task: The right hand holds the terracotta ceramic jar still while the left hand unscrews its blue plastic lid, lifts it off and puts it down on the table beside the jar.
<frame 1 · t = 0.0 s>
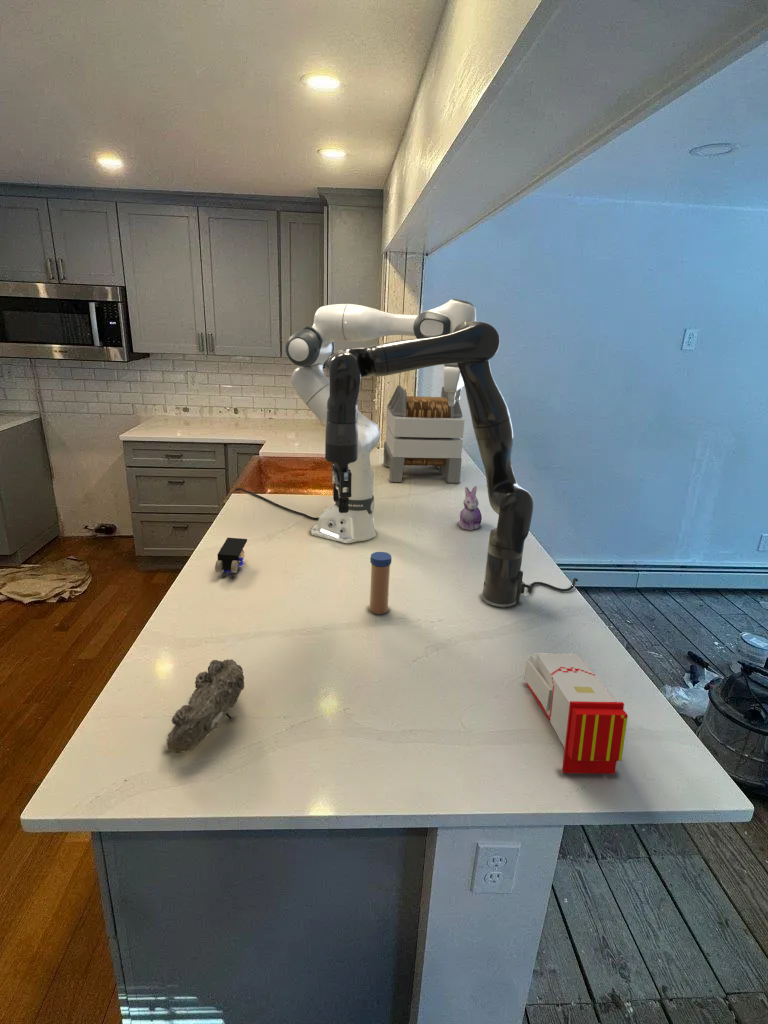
left hand: (454, 403, 174), 48 cm above the counter, tool pointing down, fingers open, 8 cm apart
right hand: (340, 506, 137), 29 cm above the counter, tool pointing down, fingers open, 8 cm apart
black wheeled block: (232, 569, 168), on the counter
toy: (562, 720, 111), on the counter
jar: (378, 609, 149), on the counter
lid: (381, 557, 144), point 15 cm above the counter, screwed on, not yet turned
transformer: (419, 473, 275), on the counter
fossil: (212, 717, 108), on the counter
figurine: (470, 526, 210), on the counter
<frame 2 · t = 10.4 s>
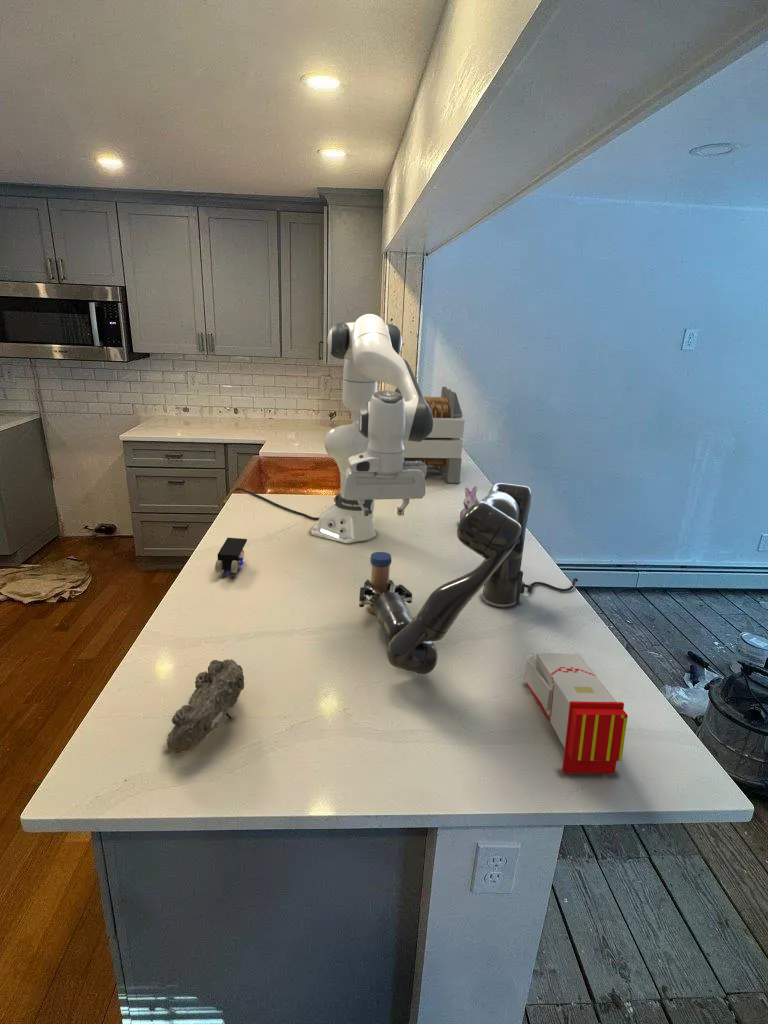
left hand: (382, 515, 140), 26 cm above the counter, tool pointing down, fingers open, 7 cm apart
right hand: (377, 582, 149), 7 cm above the counter, tool horizontal, fingers closed on jar, 5 cm apart
jar: (378, 609, 149), on the counter, touching right hand
everything else where it was.
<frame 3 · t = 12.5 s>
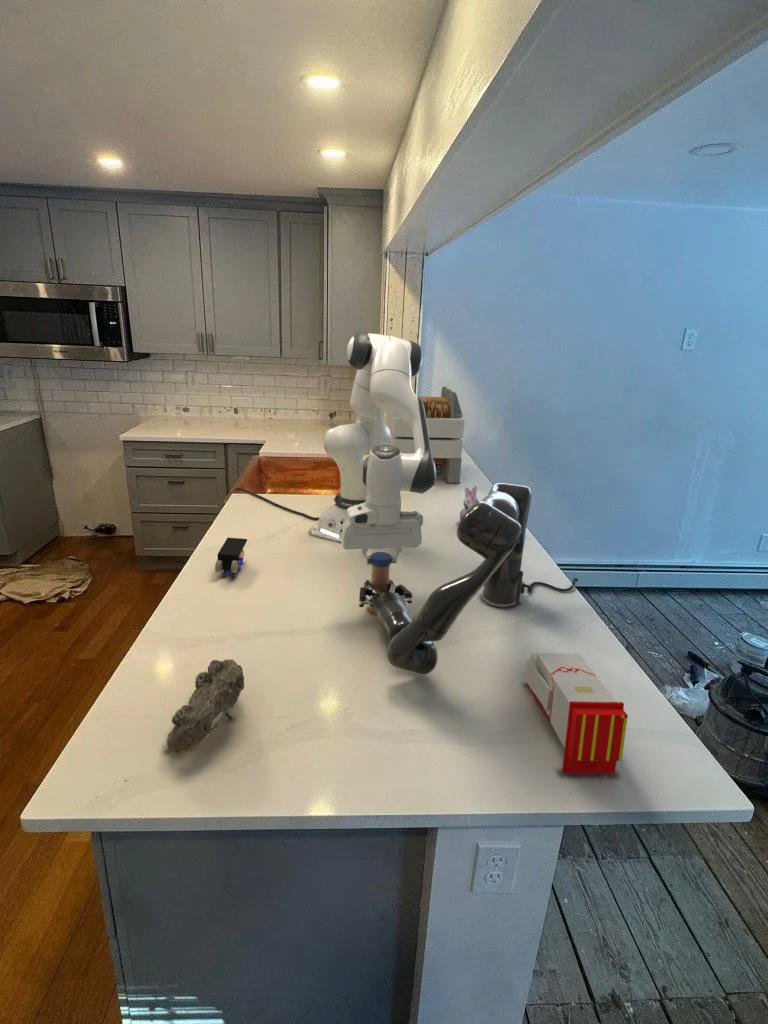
left hand: (380, 563, 145), 14 cm above the counter, tool pointing down, fingers closed on lid, 5 cm apart
right hand: (377, 582, 149), 7 cm above the counter, tool horizontal, fingers closed on jar, 5 cm apart
jar: (378, 609, 149), on the counter, touching right hand
lid: (381, 557, 144), point 15 cm above the counter, screwed on, not yet turned, touching left hand
everything else where it was.
when the left hand's fingers open (14 cm above the counter, at t = 13.9 s): lid stays where it is, point 15 cm above the counter.
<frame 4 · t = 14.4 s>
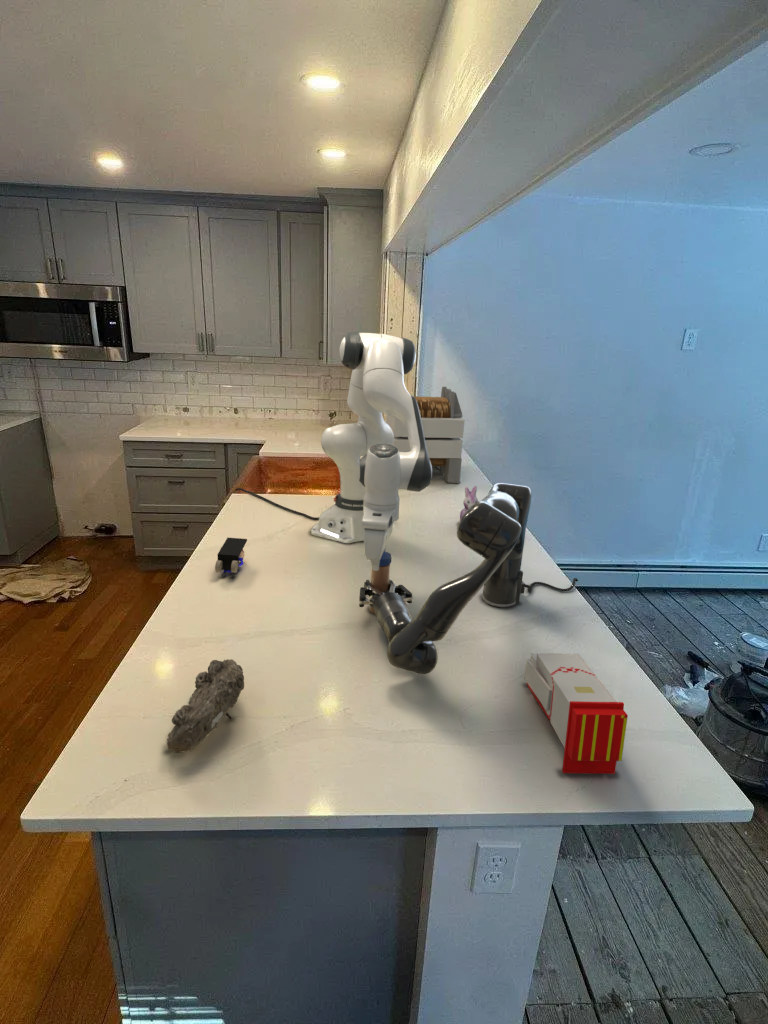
left hand: (378, 562, 144), 14 cm above the counter, tool pointing down, fingers open, 7 cm apart
right hand: (377, 582, 149), 7 cm above the counter, tool horizontal, fingers closed on jar, 5 cm apart
jar: (378, 609, 149), on the counter, touching right hand
lid: (381, 556, 144), point 15 cm above the counter, turned 95° so far, risen 0.2 cm, still on its thread
everything else where it was.
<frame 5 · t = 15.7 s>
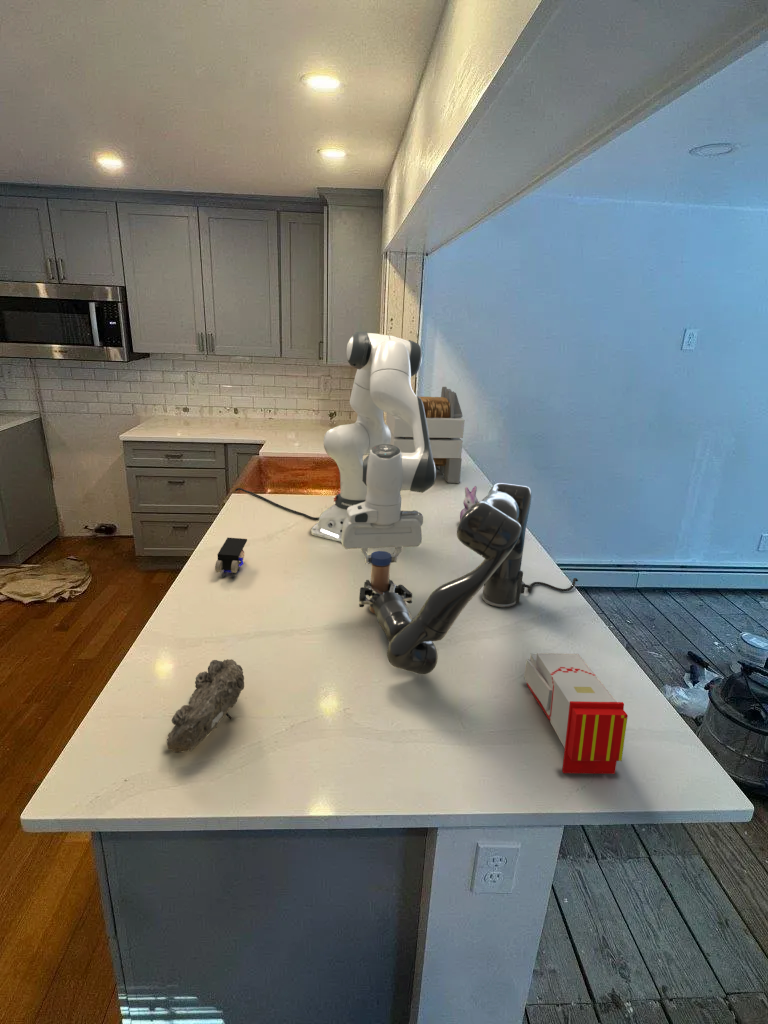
left hand: (380, 562, 145), 14 cm above the counter, tool pointing down, fingers closed on lid, 5 cm apart
right hand: (377, 582, 149), 7 cm above the counter, tool horizontal, fingers closed on jar, 5 cm apart
jar: (378, 609, 149), on the counter, touching right hand
lid: (381, 556, 144), point 15 cm above the counter, turned 95° so far, risen 0.2 cm, still on its thread, touching left hand
everything else where it was.
when the left hand's fingers open (2 cm above the counter, at t = 21.9 s): lid drops 2 cm, point 1 cm above the counter.
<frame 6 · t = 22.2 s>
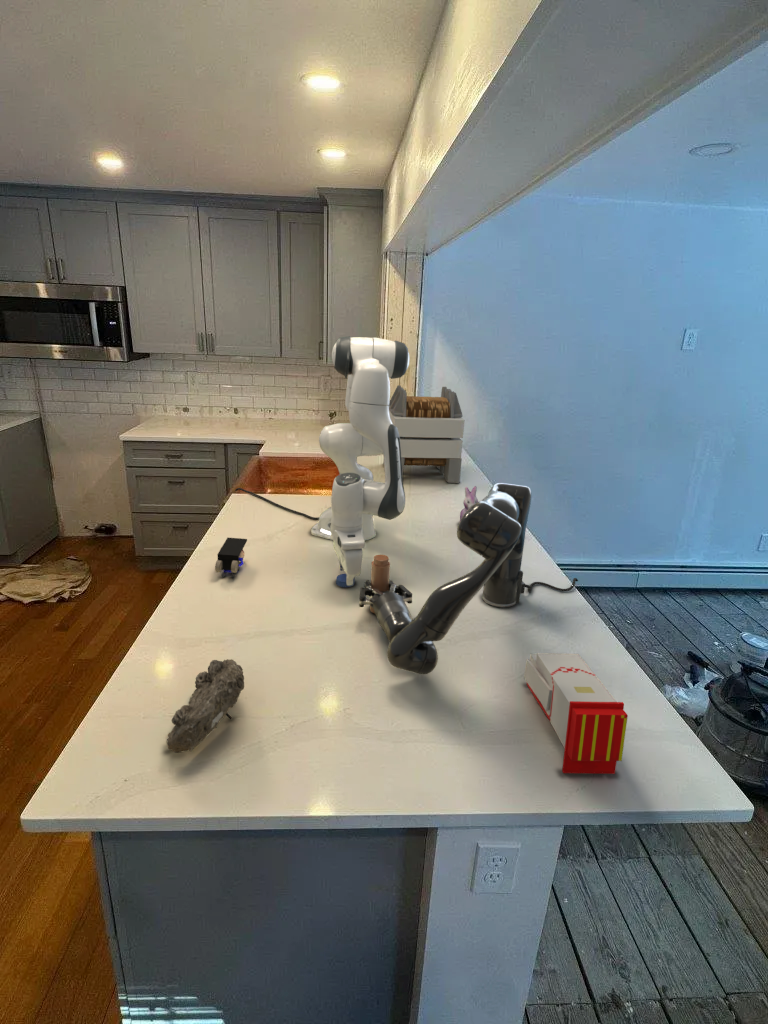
left hand: (345, 576, 162), 2 cm above the counter, tool pointing down, fingers open, 8 cm apart
right hand: (377, 582, 149), 7 cm above the counter, tool horizontal, fingers closed on jar, 5 cm apart
jar: (378, 609, 149), on the counter, touching right hand
lid: (345, 578, 162), point 1 cm above the counter, off its thread
everything else where it was.
when the right hand's fingers open (7 cm above the counter, at t = 22.9 s): jar stays where it is, on the counter.
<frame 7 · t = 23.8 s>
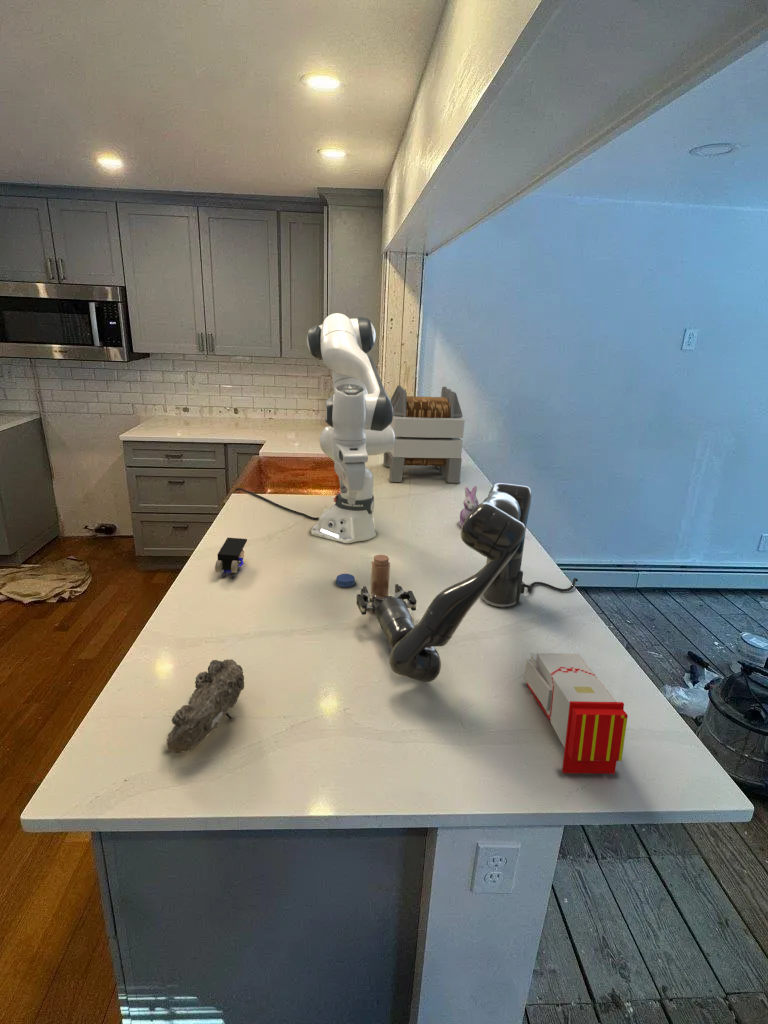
left hand: (347, 498, 154), 26 cm above the counter, tool pointing down, fingers open, 8 cm apart
right hand: (380, 588, 146), 7 cm above the counter, tool horizontal, fingers open, 8 cm apart
jar: (378, 609, 149), on the counter
everything else where it was.
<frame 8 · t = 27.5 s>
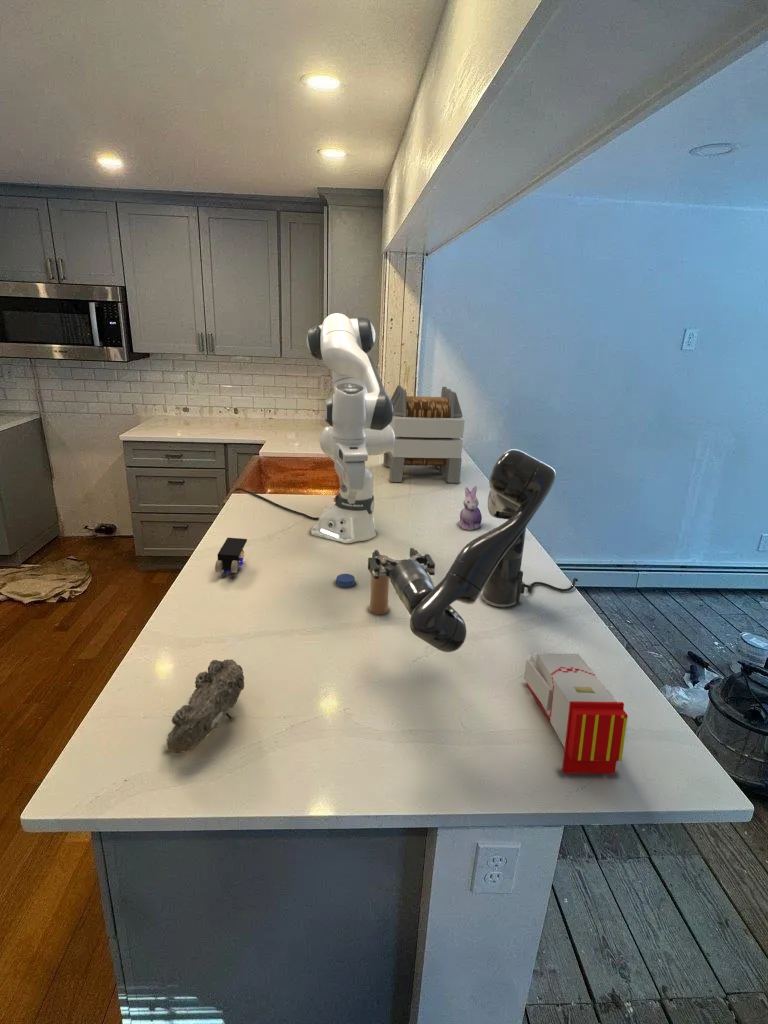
left hand: (347, 497, 154), 26 cm above the counter, tool pointing down, fingers open, 8 cm apart
right hand: (393, 552, 131), 22 cm above the counter, tool horizontal, fingers open, 8 cm apart
nothing on the counter moved.
at the end: lid came off its thread; lid point 1.5 cm above the counter; the left hand is holding nothing; the right hand is holding nothing; jar tilted 0°; jar moved 0.1 cm from its start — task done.
